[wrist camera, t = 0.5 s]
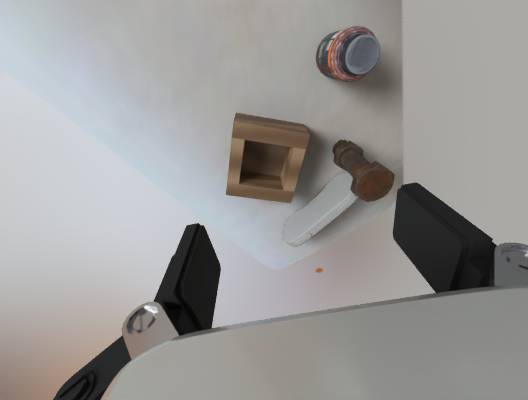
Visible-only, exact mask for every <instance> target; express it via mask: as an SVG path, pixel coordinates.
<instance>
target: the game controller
mask: <svg viewBox="0 0 528 400" xmlns="http://www.w3.org/2000/svg"><path fill="white" fill-rule="evenodd" d="M352 180H353V178H352V176H351V175H350V174H349V173H348V172H344V173H341V174H339V175H337V176H335V177H334V178H333V179H332V180H331V181H330V182H329V183H328V184H327V185H326V186H325V188H324V189H323V191H322V192H321V193H319V194H318V195H317V196H316V197H315V198H314V199H313V200H312V201H310V202H309V203H308V204H307V205H306V206H305V207H304V208H302V209H301V210H298V211H296V212H295V213H293V214H292V215H291V216H290V217H289V218H288V220H287V221H286V223H285V225H284V227H283V230H282V238H283V240H284V241H285V242H286V243H287V244H289V245H290V246H293V247H297V246H300V245H302V244H303V243H305V242H306V241H307V240H309V239H310V238H311V237H312V236H314V235H315V234H316V233H317V232H319V231H320V230H321V229H322V228H324V227H325V226H326V225H328V224H329V223H330V222H331V221H332V220H334V219H335V218H336V217H337V216H339V215H340V214H341V213H342V212H344V211H345V210H346V209H347V208H349V207H350V206H351V205H352V204H353V203H354V202H355V201H356V200H357V199H358V196H356V195H355V194H353V193H352V191H351V190H350V187H351V184H352Z"/></svg>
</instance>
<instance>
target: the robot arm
mask: <svg viewBox="0 0 528 400" xmlns="http://www.w3.org/2000/svg"><path fill="white" fill-rule="evenodd" d="M393 237H394V240H395V241H396V242H397V244H398V245H399V246H400V247H401V249H402V250H403V251H404V253H405V254H406V255H407V257H408V258H409V259H410V260H411V262H412V263H413V264H414V265H415V266H416V268H417V269H418V271H419V272H420V273H421V274H422V276H423V277H424V278H425V279H426V281H427V282H428V283H429V285H430V286H431V287H432V288H433V290H434V291H435V292H436V293H433V294H427V295H420V296H413V297H406V298H400V299H393V300H387V301H380V302H373V303H366V304H360V305H354V306H347V307H341V308H334V309H328V310H321V311H315V312H309V313H302V314H296V315H289V316H284V317H277V318H271V319H265V320H258V321H252V322H246V323H240V324H234V325H229V326H223V327H217V328H212V322H213V315H214V309H215V303H216V296H217V290H218V284H219V277H220V271H221V268H220V263H219V260H218V258H217V256H216V253H215V251H214V248H213V246H212V244H211V241H210V239H209V236H208V234H207V231H206V229H205V227H204V226H203V225H202V226H201V225H200V224H199V223H197V224H192V225H187V226H186V228H185V231H184V233H183V236H182V238H181V240H180V243H179V245H178V248H177V250H176V253H175V255H174V256H173V257H172V258H171V261H170V263H169V266H168V268H167V271H166V273H165V275H164V278H163V280H162V282H161V285H160V287H159V290H158V292H157V294H156V297H155V299H154V302H147V303H145V304H142V305H140V306H139V307H137V308H136V309H135V310H133V311H132V312H131V313H130V314H129V316H128V317H127V318H126V320H125V322H124V323H123V327H122V334H123V335H122V336H121V337H120V338H119V339H118V340H116V341H115V342H114V343H112V344H111V345H110V346H109V347H108V348H106V349H105V350H104V351H103V352H101V353H100V354H99V355H98V356H96V357H95V358H94V359H93V360H92V361H91V362H89V363H88V364H87V365H85V366H84V367H83V368H82V369H80V370H79V371H78V372H77V373H76V374H74V375H73V376H72V377H71V378H70V379H69V380H68V381H67V382H65V384H64V385H63V386H62V387H61V388H60V390H59V391H58V392H57V394H56V396H55V398H54V399H53V400H528V245H525V244H520V243H503V244H500V245H498V246H497V245H496V244H494V243H493V242H492V240H493V239H492V238H491V237H489V236H488V235H487V234H485V233H484V232H483V231H481V230H480V229H479V228H477V227H476V226H475V225H473V224H472V223H471V222H469V221H468V220H467V219H465V218H464V217H463V216H461V215H460V214H459V213H457V212H456V211H454V210H453V209H452V208H451V207H449V206H448V205H447V204H445V203H444V202H443V201H441V200H440V199H438V198H437V197H436V196H434V195H433V194H432V193H430V192H429V191H428V190H426V189H425V188H424V187H422V186H421V185H420V184H418V183H411V184H405V185H402V186H401V188H400V189H398V191H397V199H396V209H395V218H394V228H393ZM211 328H212V329H211Z"/></svg>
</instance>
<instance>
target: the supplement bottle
mask: <svg viewBox="0 0 528 400" xmlns="http://www.w3.org/2000/svg"><path fill="white" fill-rule="evenodd" d="M379 56H380V45H379V42H378V40H377V39H376V37H375V35H374V34H373V33H372V32H371V31H370V30H369V29H367V28H365V27H360V26H356V27H351V28H348V29H344V30H340V31H337V32H334V33H331V34H329V35H328V36H326V37H325V38H324V39H323V40H322V42H321V43H320V45H319V47H318V49H317V53H316V62H317V66H318V68H319V70H320V71H321V73H323V74H324V75H326V76H328V77H331V78H335V79H338V80H342V81H355V80H358V79H360V78H362V77H363V76H365V75H366V74H367V73H368V72H369V71H370V70H371V69H372V68H373V67H374V66H375V65H376V63H377V61H378V59H379Z"/></svg>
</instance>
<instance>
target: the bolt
mask: <svg viewBox="0 0 528 400" xmlns="http://www.w3.org/2000/svg"><path fill="white" fill-rule="evenodd" d="M332 151H333V153H334V163H335V164H336V165H337V166H339V167H340V168H342V169H344V170H346V171H348V173H349V174H350V175H351V176H352V178H353V180H352V184H351V187H350V190H351V191H352V193H353V194H355V195H356V196H358V197H359V198H361V199H363V200H364V201H367V202H370V201H375V200H378V199H380V198H382V197H384V196H385V195H386V194H388V192H389V191H390V190H391V188H392V186H393V182H394V175H395V174H393V173H392V172H391V171H390V170H388V169H387V168H385V167H384V166H382V165H381V164H380V163H378V162H377V161H375V162H372V163H369V162H368V161H367V160H366V159H365V158H364V157H363V150H362V149H361V148H360V147H358V146H357V145H355V144H354V143H352V142H351V141H349V142H347V141H346V140H344V141H343V140H339V141H338V142H337V143H336V144H335V145H334V148H333V150H332Z"/></svg>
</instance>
